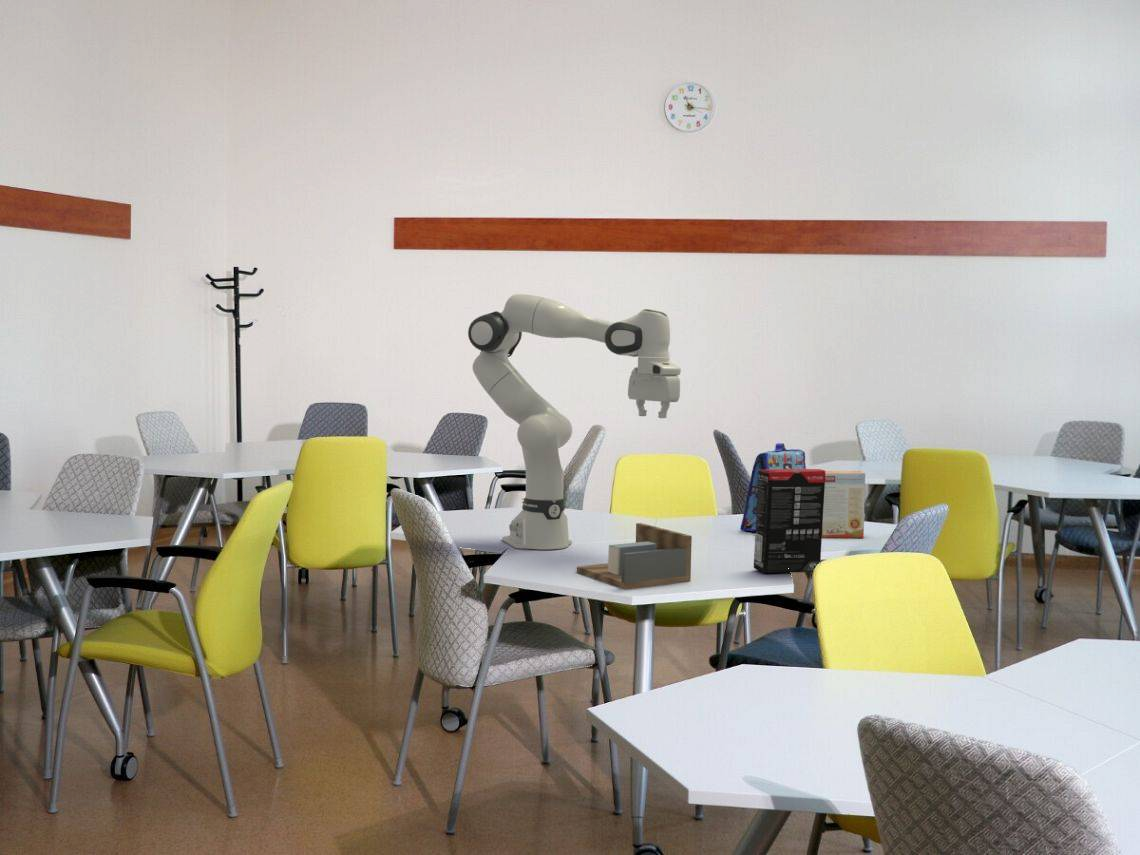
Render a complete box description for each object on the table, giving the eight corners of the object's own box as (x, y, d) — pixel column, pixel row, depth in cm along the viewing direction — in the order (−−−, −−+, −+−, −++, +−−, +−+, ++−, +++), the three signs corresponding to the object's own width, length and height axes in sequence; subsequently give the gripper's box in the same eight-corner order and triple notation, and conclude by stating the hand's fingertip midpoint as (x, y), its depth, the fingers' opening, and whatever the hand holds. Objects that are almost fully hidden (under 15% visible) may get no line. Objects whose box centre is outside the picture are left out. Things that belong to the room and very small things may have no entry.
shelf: (576, 572, 271) (577, 528, 270) (639, 565, 281) (640, 523, 280) (624, 589, 252) (625, 542, 251) (690, 581, 262) (691, 535, 262)
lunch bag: (772, 536, 330) (775, 445, 328) (739, 530, 341) (741, 442, 339) (813, 530, 345) (816, 443, 343) (780, 524, 355) (783, 440, 353)
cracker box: (858, 535, 336) (860, 470, 334) (863, 538, 330) (866, 472, 328) (814, 534, 335) (817, 470, 334) (819, 538, 329) (822, 472, 328)
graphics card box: (809, 567, 283) (813, 467, 281) (823, 572, 276) (826, 470, 274) (752, 570, 278) (755, 468, 276) (765, 575, 271) (768, 471, 269)
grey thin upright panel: (621, 581, 253) (622, 553, 253) (682, 574, 263) (682, 547, 262) (624, 583, 252) (625, 554, 251) (685, 575, 261) (686, 548, 261)
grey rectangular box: (608, 572, 264) (608, 545, 263) (646, 568, 270) (647, 541, 270) (617, 575, 260) (617, 547, 260) (656, 571, 267) (657, 543, 266)
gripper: (623, 367, 300) (622, 415, 301) (666, 368, 282) (664, 419, 283) (641, 367, 303) (640, 414, 304) (684, 368, 286) (683, 419, 287)
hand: (652, 417), depth 293 cm, fingers open, 8 cm apart
